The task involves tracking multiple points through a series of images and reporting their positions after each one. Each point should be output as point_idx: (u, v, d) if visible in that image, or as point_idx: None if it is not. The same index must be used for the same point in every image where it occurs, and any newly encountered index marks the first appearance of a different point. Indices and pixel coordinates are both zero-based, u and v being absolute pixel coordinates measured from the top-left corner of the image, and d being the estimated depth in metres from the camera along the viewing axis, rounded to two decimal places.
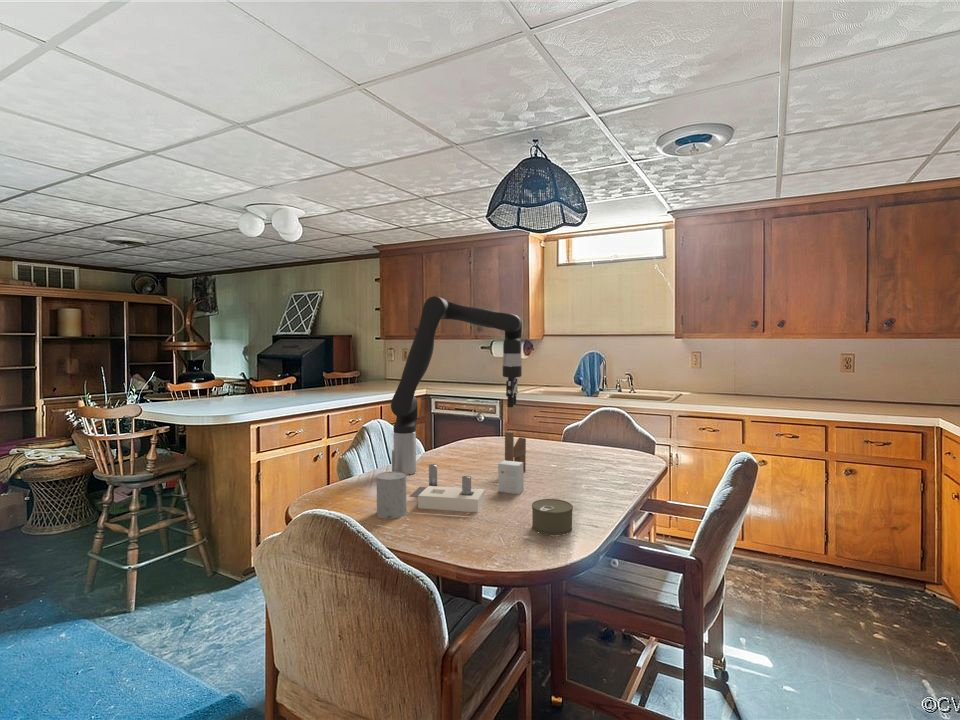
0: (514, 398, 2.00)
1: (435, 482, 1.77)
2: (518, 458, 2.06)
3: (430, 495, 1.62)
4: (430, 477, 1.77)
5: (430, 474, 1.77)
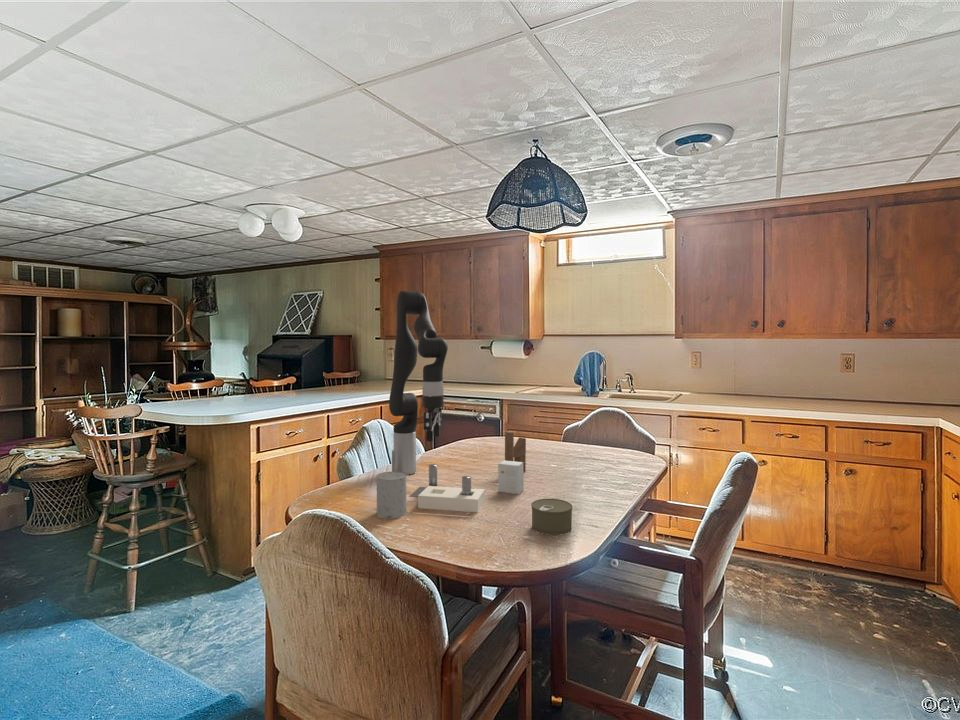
0: (437, 430, 1.81)
1: (435, 482, 1.77)
2: (518, 458, 2.06)
3: (430, 495, 1.62)
4: (430, 477, 1.77)
5: (430, 474, 1.77)
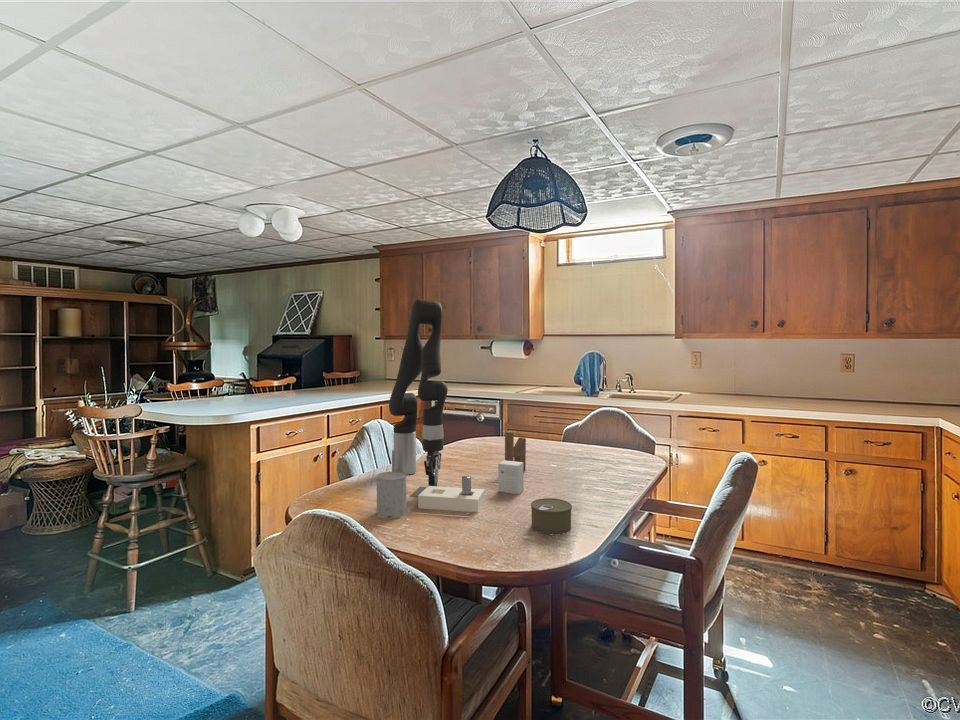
0: None
1: (435, 482, 1.77)
2: (518, 458, 2.06)
3: (430, 495, 1.62)
4: None
5: None
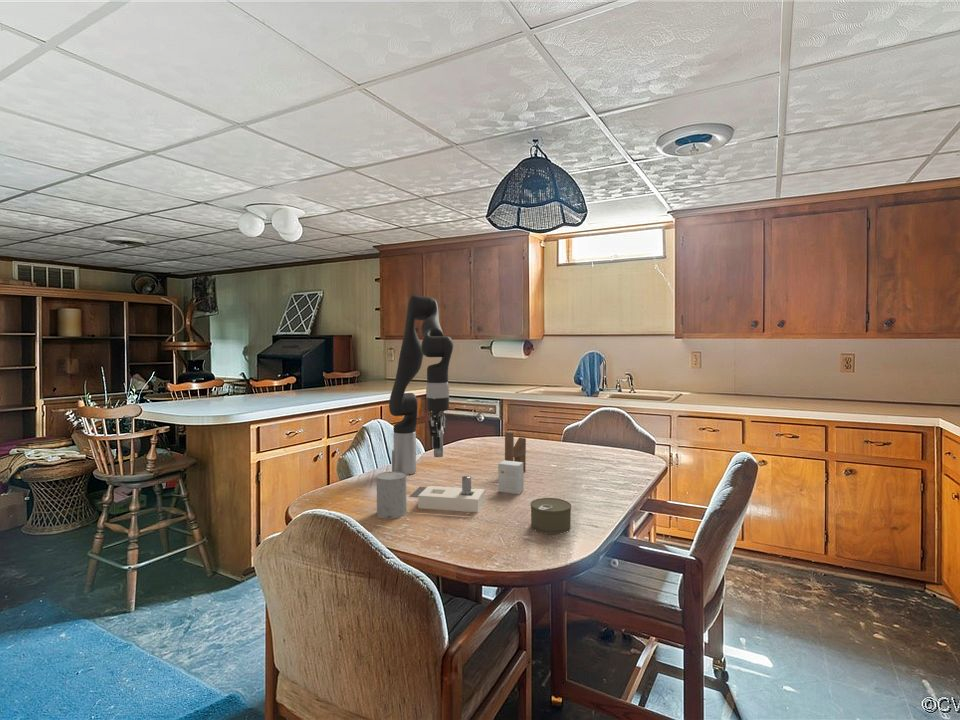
0: None
1: (441, 445, 1.65)
2: (518, 458, 2.06)
3: (430, 495, 1.62)
4: None
5: None
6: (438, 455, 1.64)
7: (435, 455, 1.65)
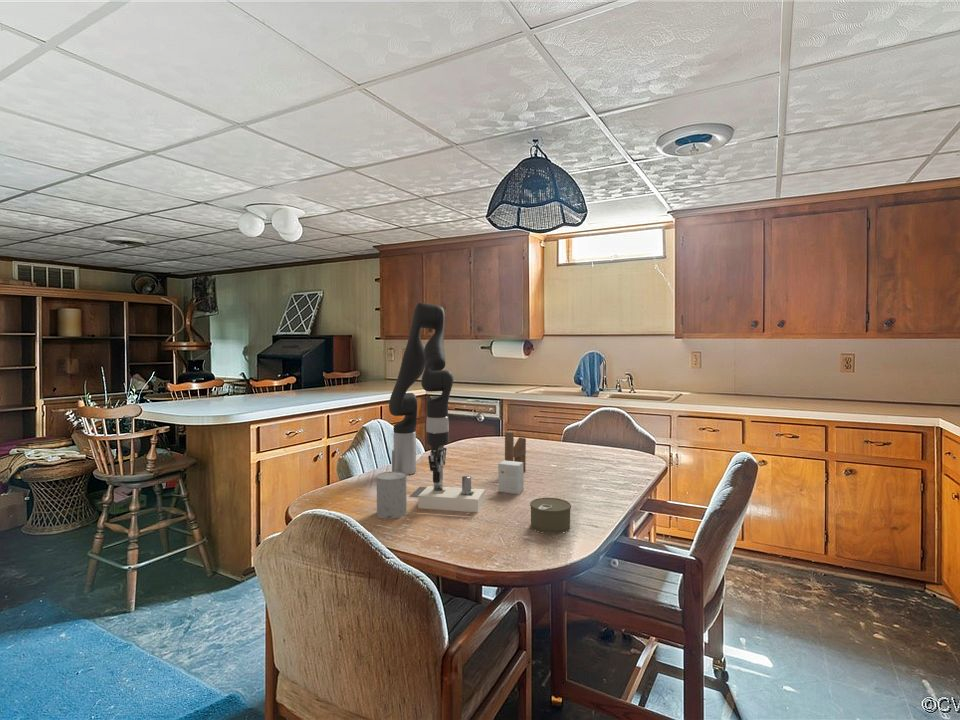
0: None
1: (440, 478, 1.65)
2: (518, 458, 2.06)
3: (430, 495, 1.62)
4: None
5: None
6: (438, 489, 1.65)
7: (435, 489, 1.65)
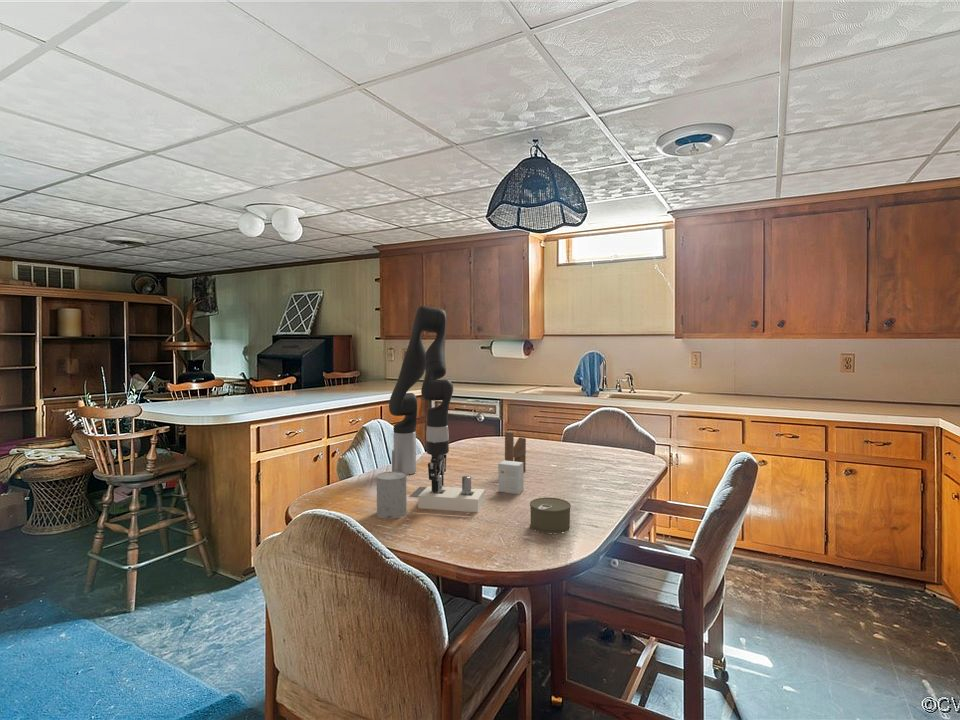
0: None
1: (440, 493, 1.65)
2: (518, 458, 2.06)
3: (430, 495, 1.62)
4: None
5: None
6: None
7: None
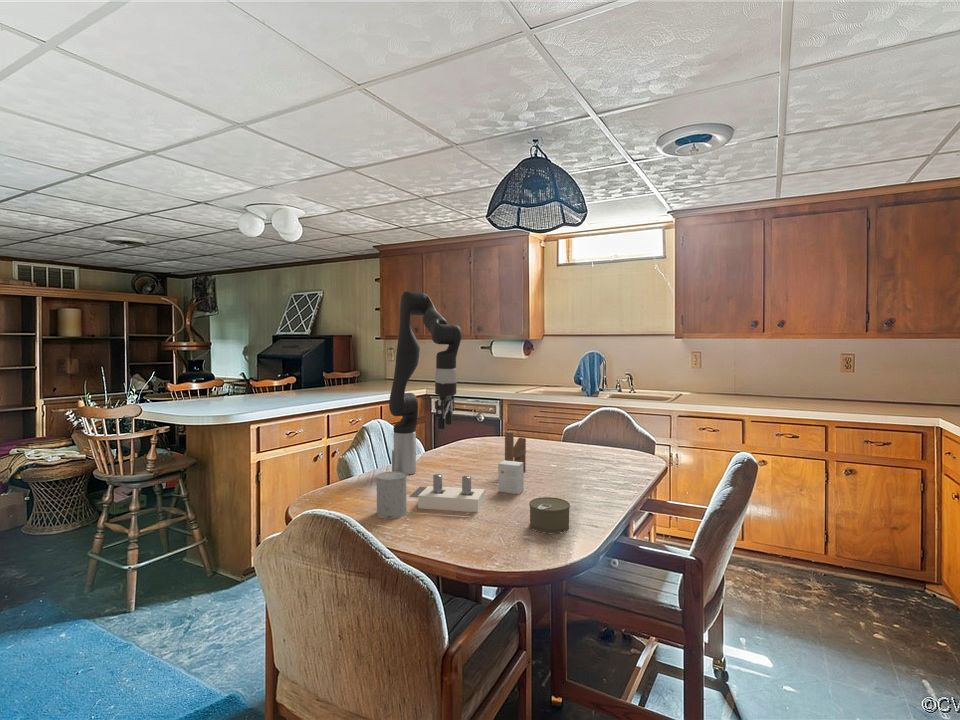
0: (449, 417, 1.79)
1: (440, 493, 1.65)
2: (518, 458, 2.06)
3: (430, 495, 1.62)
4: (435, 488, 1.65)
5: (435, 485, 1.65)
6: None
7: None
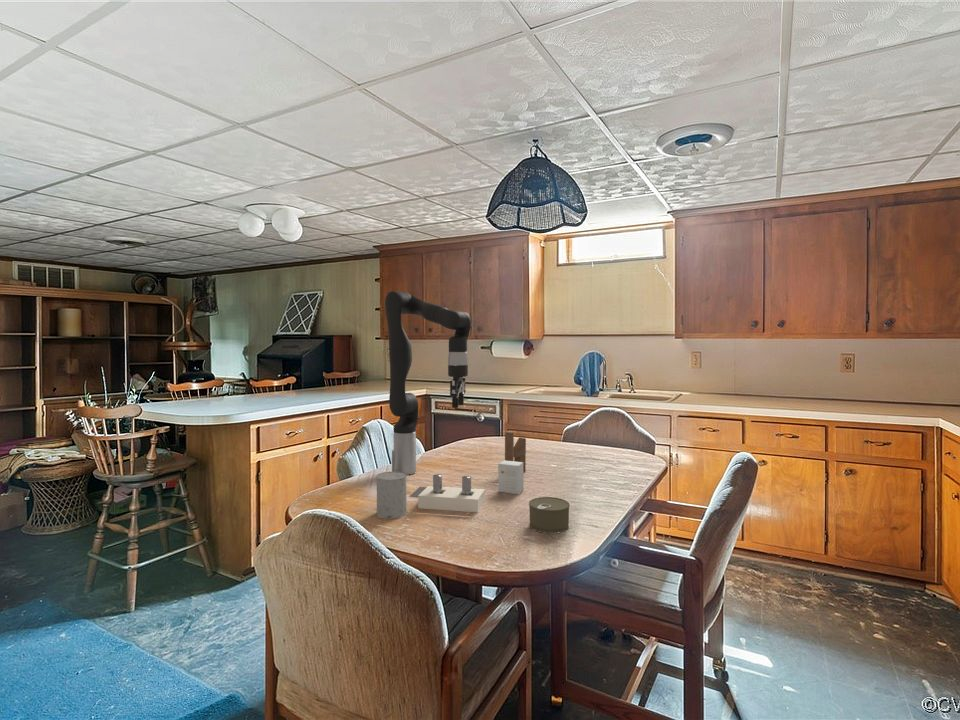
0: (461, 398, 1.92)
1: (440, 493, 1.65)
2: (518, 458, 2.06)
3: (430, 495, 1.62)
4: (434, 488, 1.65)
5: (434, 485, 1.65)
6: None
7: None
